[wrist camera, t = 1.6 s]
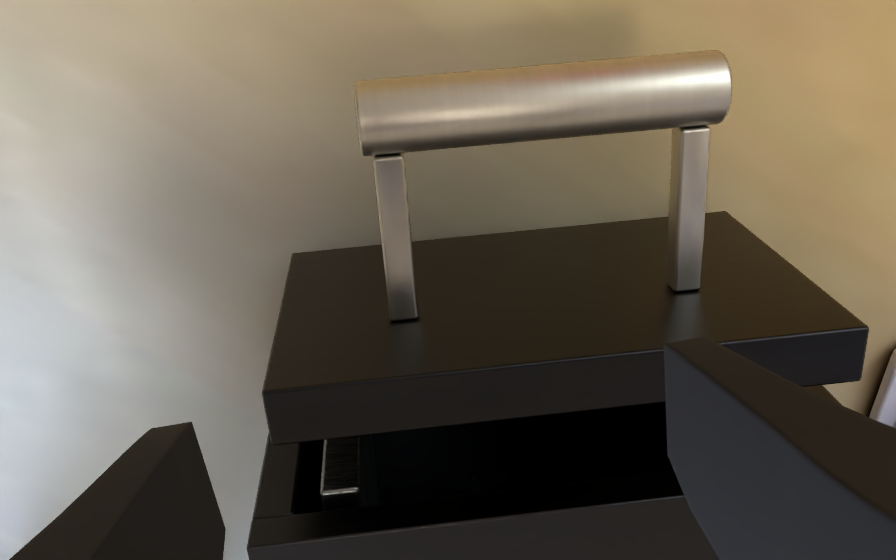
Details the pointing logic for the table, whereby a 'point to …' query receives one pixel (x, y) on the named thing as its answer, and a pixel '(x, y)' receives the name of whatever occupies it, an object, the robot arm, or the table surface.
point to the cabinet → (475, 519)
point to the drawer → (531, 299)
